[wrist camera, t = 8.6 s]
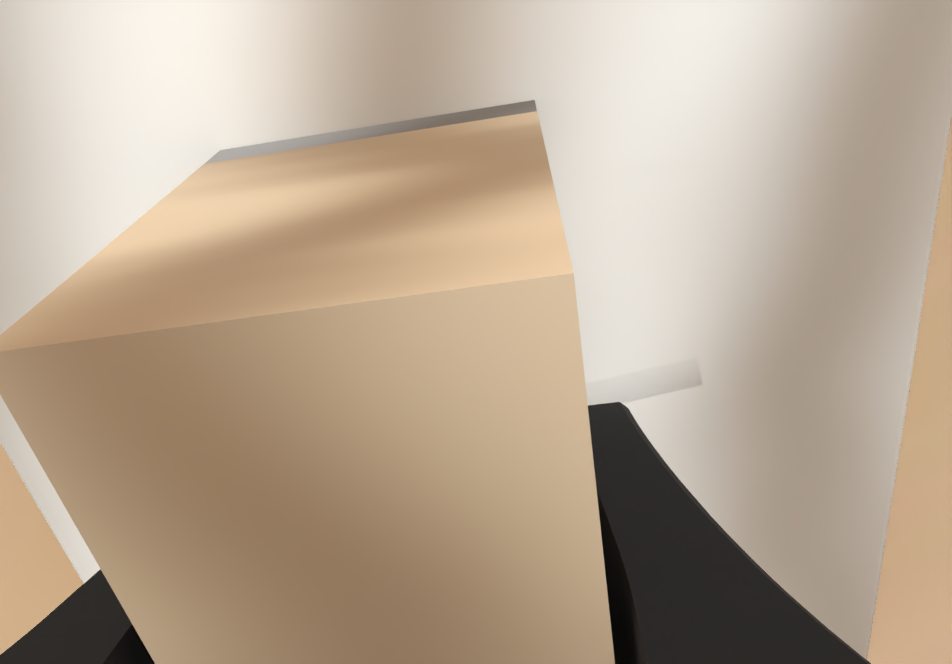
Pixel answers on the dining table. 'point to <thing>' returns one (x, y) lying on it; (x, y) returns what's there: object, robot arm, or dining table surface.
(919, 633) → the dining table surface
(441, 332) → the block
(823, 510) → the board
